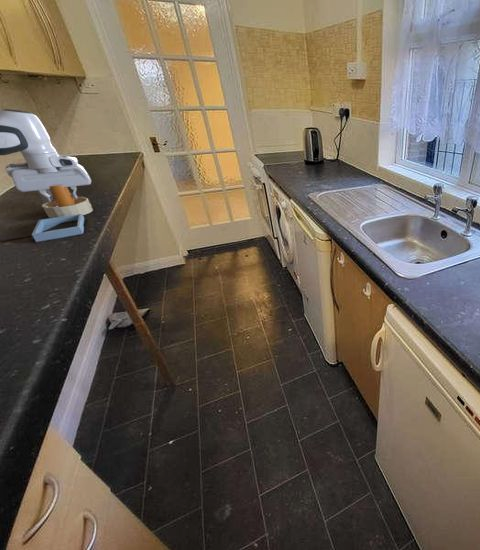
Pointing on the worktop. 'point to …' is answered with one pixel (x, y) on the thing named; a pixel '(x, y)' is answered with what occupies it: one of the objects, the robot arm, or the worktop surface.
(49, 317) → the worktop surface
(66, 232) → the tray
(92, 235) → the worktop surface
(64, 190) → the orange capped cylinder
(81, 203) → the bowl
